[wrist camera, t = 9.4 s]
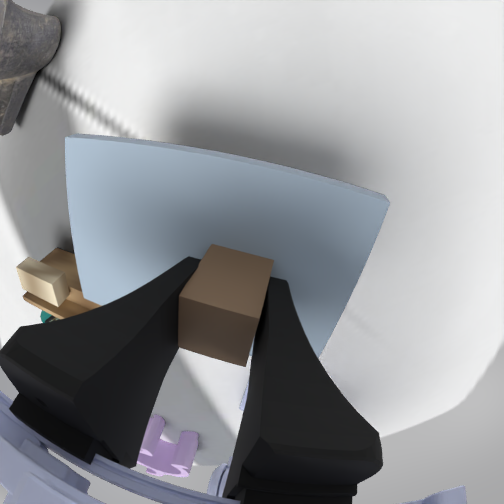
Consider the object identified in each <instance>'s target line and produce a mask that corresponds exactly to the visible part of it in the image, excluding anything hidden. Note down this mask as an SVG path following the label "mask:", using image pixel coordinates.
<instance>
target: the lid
mask: <svg viewBox="0 0 504 504" xmlns="http://www.w3.org/2000/svg"><path fill="white" fill-rule="evenodd" d="M65 162H66V183H67V197H68V207H69V217H70V225H71V232H72V239H73V246H74V252H75V258H76V263H77V269H78V274H79V278H80V283H81V288H82V292H83V296H84V298H85V299H87V300H90V301H92V302H94V303H97V304H99V305H101V306H103V305H105V304H108V303H110V302H112V301H114V300H117V299H119V298H121V297H123V296H125V295H127V294H129V293H131V292H132V291H134V290H136V289H138V288H139V287H141V286H143V285H145V284H146V283H148V282H150V281H151V280H153V279H154V278H156V277H158V276H159V275H161V274H162V273H164V272H165V271H167V270H168V269H170V268H171V267H173V266H174V265H176V264H177V263H179V262H180V261H182V260H183V259H185V258H186V257H188V256H190V257H194V258H197V259H201V261H200V263H199V264H198V265H199V266H198V268H197V270H196V271H195V273H194V274H193V275H192V277H191V278H190V279H189V281H188V282H187V283H186V285H185V287H184V288H183V290H182V291H181V293H180V295H179V311H178V347H180V348H183V349H186V350H189V351H192V352H195V353H198V354H202V355H205V356H208V357H211V358H215V359H218V360H222V361H225V362H229V363H232V364H236V365H240V366H243V367H246V364H247V360H248V357H249V355H250V356H252V351H253V342H254V337H255V333H256V329H257V326H258V323H259V319H260V315H261V311H262V307H263V303H264V299H265V295H266V291H267V287H268V283H269V279H270V276H271V277H275V278H279V279H283V280H287V282H288V283H289V288H290V292H291V296H292V299H293V302H294V306H295V308H296V311H297V314H298V317H299V319H300V322H301V324H302V327H303V329H304V331H305V334H306V336H307V338H308V340H309V342H310V344H311V346H312V348H313V350H314V352H315V354H316V356H317V357H318V358H319V356H320V354H321V352H322V350H323V349H324V347H325V345H326V343H327V341H328V339H329V338H330V336H331V334H332V332H333V330H334V328H335V326H336V324H337V322H338V320H339V318H340V316H341V314H342V313H343V311H344V309H345V306H346V304H347V302H348V300H349V298H350V296H351V294H352V292H353V290H354V288H355V286H356V284H357V281H358V279H359V277H360V275H361V273H362V270H363V268H364V266H365V264H366V261H367V259H368V257H369V255H370V252H371V250H372V248H373V245H374V243H375V240H376V238H377V235H378V233H379V231H380V228H381V225H382V223H383V220H384V218H385V215H386V213H387V210H388V207H389V205H390V202H389V200H388V199H387V197H386V196H385V195H383V194H380V193H377V192H374V191H371V190H368V189H365V188H361V187H358V186H355V185H352V184H348V183H345V182H342V181H338V180H335V179H332V178H328V177H325V176H321V175H317V174H314V173H310V172H306V171H302V170H299V169H295V168H291V167H287V166H283V165H278V164H274V163H270V162H266V161H261V160H257V159H252V158H248V157H243V156H238V155H233V154H228V153H223V152H218V151H213V150H207V149H201V148H196V147H190V146H183V145H177V144H170V143H164V142H156V141H149V140H141V139H132V138H123V137H113V136H102V135H90V134H74V135H71V136H68V137H65Z"/></svg>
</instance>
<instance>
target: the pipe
mask: <svg viewBox="0 0 504 504" xmlns="http://www.w3.org/2000/svg"><path fill="white" fill-rule="evenodd" d="M60 35H61V24H60V21H59V19H58V17H56V16H52V15H43V14H39V13H36V12H33V11H30V10H27V9H25V8H22V7H21V6H19V5H17V4H15V3H14V2H13V1H12V0H0V135H2V136H3V135H6V134H8V133H9V132H11V130H12V128H13V125H14V123H15V121H16V118H17V116H18V113H19V111H20V108H21V106H22V103H23V101H24V99H25V96H26V94H27V92H28V90H29V87H30V85H31V83H32V81H33V79H34V77H35V74H36V73H37V71H38V70H40V69H41V68H43V67H44V66H45V65H47V64H48V63H49V62H50V60H51V59H52V58H53V56H54V54H55V52H56V50H57V47H58V44H59V41H60Z"/></svg>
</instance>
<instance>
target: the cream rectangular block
mask: <svg viewBox="0 0 504 504" xmlns="http://www.w3.org/2000/svg"><path fill="white" fill-rule="evenodd" d="M16 269H17V272H18V275H19V279H20V282H21V285H22V288H23V289H24V290H26V291H28V292H30V293H32V294H34V295H35V296H37V297H39V298H41V299H43V300H45V301H47V302H49V303H51V304H53V305H55V306H57V307H59V306H60V305H61V304H62V303H63V301H64V300H65V299H66V298H67V297H68V296H69V295H70V293H69V289H68V284H67V280H66V275H65V272H63V271H61V270H58V269H56V268H53V267H51V266H49V265H46V264H44V263H42V262H39V261H37V260H35V259H32V258H30V257H28V258H26V259H25V260H24V261H23V262H22V263H20V264H19V265H18V266H17V267H16Z"/></svg>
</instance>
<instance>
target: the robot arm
mask: <svg viewBox="0 0 504 504" xmlns="http://www.w3.org/2000/svg"><path fill="white" fill-rule="evenodd" d="M200 261H201V259H197V258H194V257H190V256H188V257H186V258H185V259H183V260H182V261H180V262H179V263H177V264H176V265H174V266H173V267H171V268H170V269H168V270H167V271H165V272H164V273H162V274H161V275H159V276H158V277H156V278H154V279H153V280H151V281H150V282H148V283H146V284H145V285H143V286H141V287H139V288H138V289H136V290H134V291H132V292H131V293H129V294H127V295H125V296H123V297H121V298H119V299H117V300H114V301H112V302H110V303H108V304H105V305H103V306H100V307H98V308H95V309H92V310H89V311H87V312H84V313H81V314H78V315H75V316H71V317H68V318H64V319H60V320H56V321H51V322H47V323H41V324H35V325H29V326H21V327H20V328H19V329H18V330H17V331H16V332H15V333H14V334H13V336H12V337H11V338H10V339H9V340H8V342H7V343H6V344H5V345H4V346H3V348H2V349H1V350H0V366H1V368H2V369H3V371H4V372H5V374H6V375H7V377H8V378H9V380H10V381H11V382H12V383H13V385H14V386H15V387H16V389H17V390H18V392H19V394H18V395H17V397H16V398H15V400H14V401H12V400H11V399H10V398H8V397H7V396H6V395H5V394H4V393H2V392H1V391H0V484H1V485H2V486H3V487H4V488H5V489H6V490H7V491H8V494H7V496H6V498H5V500H4V503H3V504H106V503H103V502H101V501H99V500H97V499H95V498H93V497H91V496H89V495H88V494H87V490H88V488H89V486H90V482H89V481H88V480H87V479H85V478H84V477H82V476H80V475H79V474H77V473H76V472H74V471H73V470H72V469H71V468H69V466H67V465H66V464H64V463H63V462H61V461H60V460H58V459H56V458H55V457H54V456H52V455H51V454H49V453H48V449H50V450H52V451H53V452H55V453H56V454H58V455H60V456H61V457H63V458H64V459H66V460H68V461H69V462H71V463H73V464H75V465H76V466H78V467H80V468H82V469H84V470H86V471H87V472H89V473H91V474H93V475H95V476H97V477H99V478H101V479H103V480H105V481H108V482H110V483H112V484H114V485H116V486H118V487H121V488H123V489H125V490H128V491H130V492H133V493H135V494H138V495H140V496H143V497H146V498H148V499H151V500H154V501H156V502H160V503H163V504H352V496H355V495H356V494H357V484H358V483H360V482H362V481H364V480H365V479H367V478H369V477H371V476H373V475H374V474H376V473H377V472H378V471H379V470H380V469H381V468H382V466H383V459H382V447H381V442H380V438H379V433H378V432H377V431H376V430H375V429H374V428H373V427H372V426H371V425H370V424H369V423H368V422H367V421H366V420H365V419H364V418H363V417H362V416H361V415H360V414H359V413H358V412H357V411H356V410H355V409H354V407H353V406H352V405H351V404H350V403H349V402H348V401H347V399H346V398H345V397H344V396H343V394H342V393H341V392H340V390H339V389H338V388H337V386H336V385H335V384H334V382H333V381H332V380H331V378H330V377H329V375H328V374H327V372H326V371H325V369H324V367H323V366H322V364H321V363H320V361H319V359H318V357H317V356H316V354H315V352H314V350H313V348H312V346H311V344H310V342H309V340H308V338H307V336H306V334H305V331H304V329H303V327H302V324H301V322H300V319H299V317H298V314H297V311H296V308H295V306H294V302H293V299H292V296H291V292H290V288H289V283H288V282H287V280H283V279H279V278H275V277H271V276H270V279H269V283H268V287H267V291H266V295H265V299H264V303H263V307H262V311H261V315H260V319H259V323H258V326H257V329H256V333H255V337H254V342H253V351H252V359H251V368H250V377H249V382H248V385H247V387H246V390H245V393H244V396H243V398H242V401H241V404H240V407H239V409H240V410H242V411H244V412H243V417H242V421H241V425H240V429H239V433H238V437H237V442H236V446H235V450H234V453H233V457H231V456H230V457H229V461H228V464H225V463H223V464H221V465H220V466H219V467H217V468H216V469H215V470H214V472H213V473H212V476H211V478H210V481H209V485H208V489H207V494H205V493H201V492H197V491H193V490H190V489H186V488H182V487H179V486H176V485H172V484H170V483H167V482H163V481H160V480H158V479H155V478H152V477H149V476H147V475H144V474H141V473H139V472H136V471H134V470H131V469H130V468H132V467H135V466H136V464H137V460H138V456H139V452H140V449H141V445H142V442H143V438H144V435H145V432H146V428H147V425H148V422H149V419H150V416H151V413H152V410H153V407H154V404H155V401H156V398H157V396H158V393H159V390H160V388H161V385H162V382H163V380H164V377H165V375H166V373H167V370H168V368H169V366H170V364H171V362H172V360H173V359H174V357H175V355H176V353H177V351H178V349H179V347H178V311H179V295H180V293H181V291H182V290H183V288H184V287H185V285H186V283H187V282H188V281H189V279H190V278H191V277H192V275H193V274H194V273H195V271H196V270H197V268H198V266H199V265H198V264H199V263H200ZM47 448H48V449H47ZM398 504H467V500H466V490H465V486H464V485H462V486H459V487H455V488H451V489H448V490H443V491H440V492H437V493H434V494H432V495H430V496H428V497H425V498H424V499H422V500H416V501H411V502H405V503H398Z"/></svg>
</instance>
